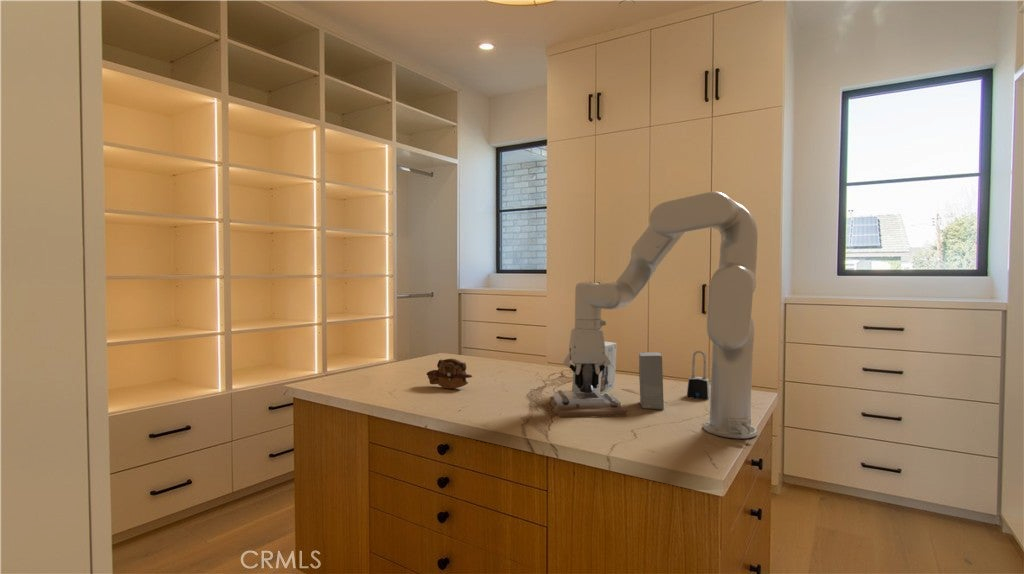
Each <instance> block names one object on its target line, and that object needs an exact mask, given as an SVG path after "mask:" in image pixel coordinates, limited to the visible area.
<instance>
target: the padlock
mask: <svg viewBox="0 0 1024 574" xmlns="http://www.w3.org/2000/svg"><path fill="white" fill-rule="evenodd" d="M697 354H701V355H702V356H703V372H702V373H703V374H702V376H695V371H696V370H695V365H696V364H695V362H696V355H697ZM691 369H692V370H691V376H690V377H689V378H688V380H687V391H686V398H690V397H692V398H691V399H696V398H698V400H706V399H708V400H710V394H711V387H710V379H709V378H707V376H706V375H707V371H706V370H707V356H706V353H705V352H704V351H702V350H695V351H694V352H693V354H692V367H691Z"/></svg>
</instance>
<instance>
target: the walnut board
mask: <svg viewBox="0 0 1024 574" xmlns="http://www.w3.org/2000/svg"><path fill="white" fill-rule="evenodd" d="M549 402H550V405H551V406H552V407H553V409H554V411H555V413H556V414H557V417H558V418H576V417H577V418H586V417H587V418H588V417H589V418H590V417H591V416H597V417H627V410H626V409H625V408H624V407H623V406H622V405H621V407H580V408H558V406H557V405H556V403H555V401H554V396H549Z"/></svg>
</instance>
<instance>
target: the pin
mask: <svg viewBox="0 0 1024 574" xmlns="http://www.w3.org/2000/svg"><path fill="white" fill-rule="evenodd" d="M580 374H581V388H580V392H585V393H591V392H593V387H594V364H591V363H587V364H581V369H580Z"/></svg>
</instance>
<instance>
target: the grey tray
mask: <svg viewBox="0 0 1024 574" xmlns="http://www.w3.org/2000/svg"><path fill="white" fill-rule="evenodd" d="M553 397H554V401H555V403H556V405H557V406H558V408H580V407H621V406H622V403H621V402H620V401H619V400H618V399H617V397H616V396H614V395H612V394H611V395H610V394H608V393H603V394H602V395H601V394H599V393H598V392H591V393H585V392H572V391H563V390H560V389H559V390H558V391H553Z"/></svg>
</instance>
